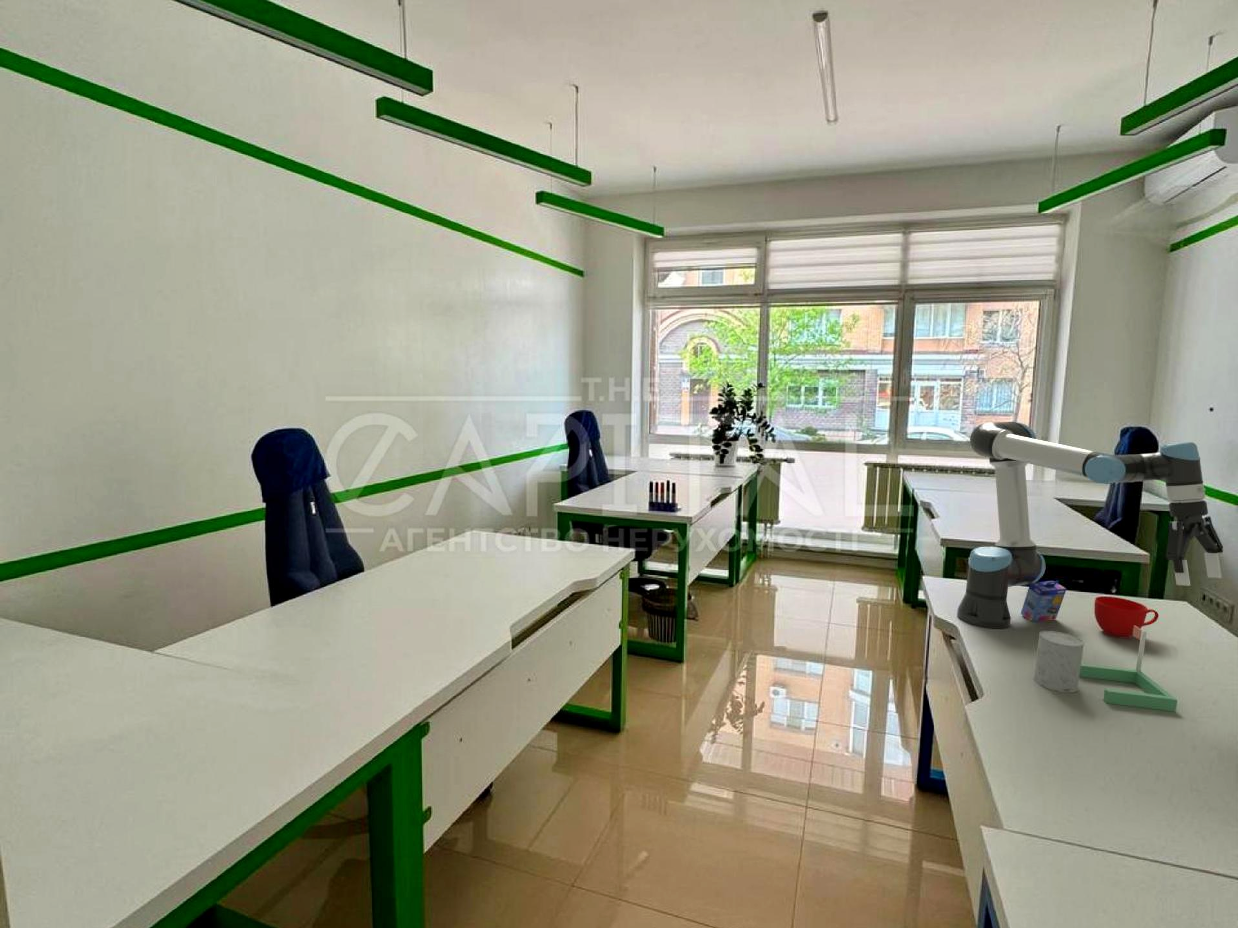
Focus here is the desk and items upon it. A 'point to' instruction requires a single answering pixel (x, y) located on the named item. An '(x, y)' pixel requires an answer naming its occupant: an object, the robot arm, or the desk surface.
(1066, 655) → the speckled concrete drum
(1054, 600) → the ink cartridge box
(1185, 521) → the robot arm
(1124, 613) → the ceramic cup
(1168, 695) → the green angular frame
